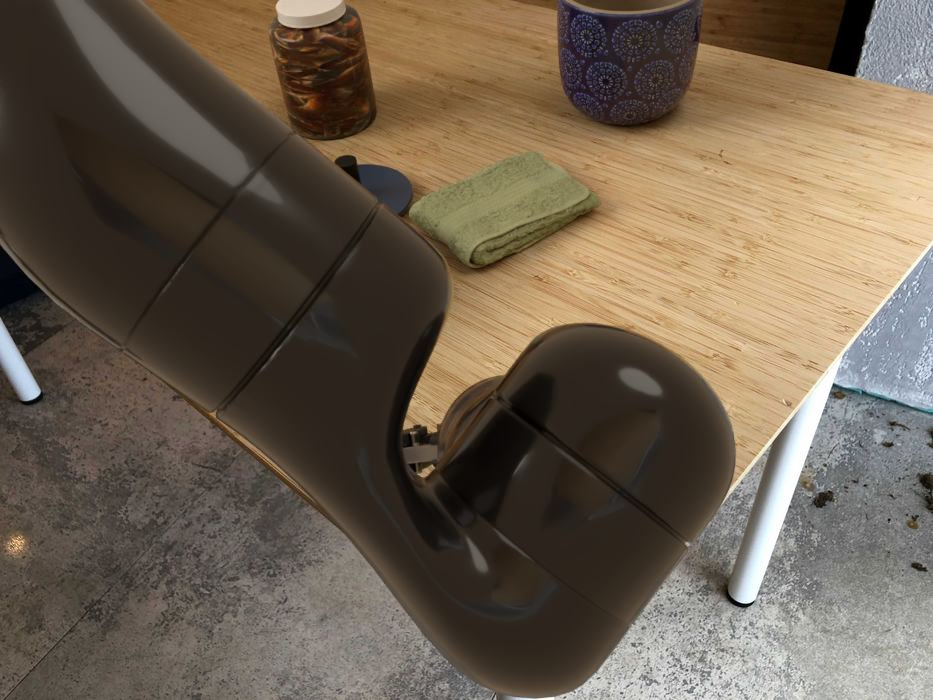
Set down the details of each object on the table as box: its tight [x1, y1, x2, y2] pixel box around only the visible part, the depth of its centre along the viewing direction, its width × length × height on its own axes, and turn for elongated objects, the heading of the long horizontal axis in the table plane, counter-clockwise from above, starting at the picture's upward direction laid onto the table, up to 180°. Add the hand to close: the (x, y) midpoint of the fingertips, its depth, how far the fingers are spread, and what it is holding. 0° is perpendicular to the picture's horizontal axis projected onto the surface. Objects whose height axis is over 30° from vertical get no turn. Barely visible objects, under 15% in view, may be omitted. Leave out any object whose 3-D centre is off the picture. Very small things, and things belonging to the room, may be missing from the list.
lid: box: [333, 154, 414, 217], centre depth 93 cm, size 13×13×6 cm
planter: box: [556, 0, 705, 126], centre depth 101 cm, size 17×17×15 cm
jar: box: [268, 0, 378, 141], centre depth 105 cm, size 12×12×15 cm
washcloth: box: [408, 151, 602, 269], centre depth 90 cm, size 13×18×3 cm
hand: (495, 430), depth 58 cm, fingers closed on pear, 5 cm apart
